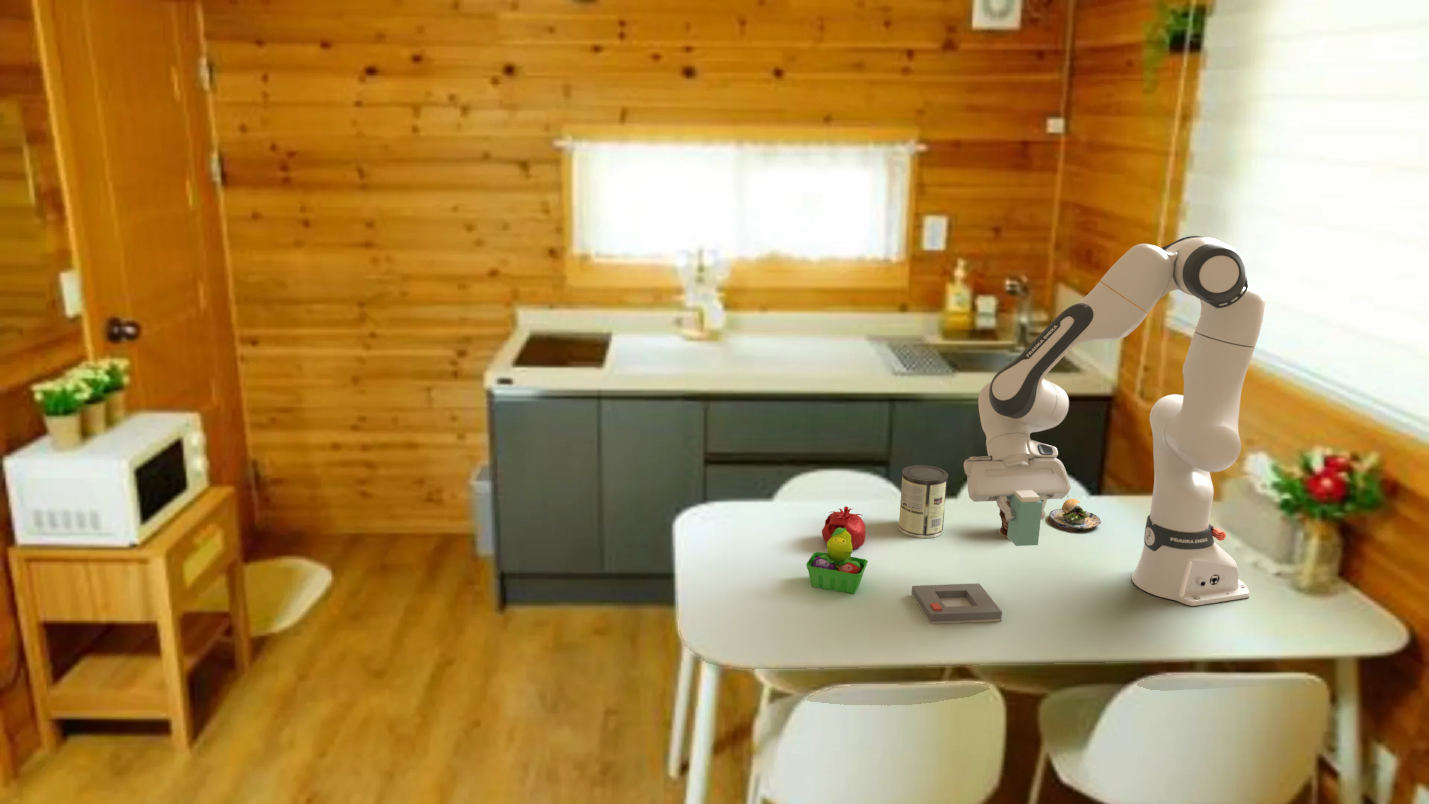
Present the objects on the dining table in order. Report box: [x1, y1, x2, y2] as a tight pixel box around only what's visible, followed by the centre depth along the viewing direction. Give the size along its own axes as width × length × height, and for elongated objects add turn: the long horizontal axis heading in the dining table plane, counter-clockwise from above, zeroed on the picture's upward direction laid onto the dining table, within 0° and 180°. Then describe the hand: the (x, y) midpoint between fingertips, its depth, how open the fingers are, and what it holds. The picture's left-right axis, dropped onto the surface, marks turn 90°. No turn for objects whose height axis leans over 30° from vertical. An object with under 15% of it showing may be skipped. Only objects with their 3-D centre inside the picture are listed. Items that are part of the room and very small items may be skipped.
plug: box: [1007, 490, 1043, 547], centre depth 206 cm, size 4×4×10 cm
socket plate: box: [911, 582, 1003, 625], centre depth 205 cm, size 14×12×2 cm
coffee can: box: [898, 464, 949, 539], centre depth 240 cm, size 10×10×14 cm
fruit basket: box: [805, 528, 868, 595], centre depth 212 cm, size 11×9×11 cm
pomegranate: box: [821, 506, 866, 551], centre depth 231 cm, size 10×10×9 cm
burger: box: [1048, 494, 1102, 534], centre depth 246 cm, size 12×12×8 cm
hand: (1026, 519), depth 205 cm, fingers closed on plug, 4 cm apart
